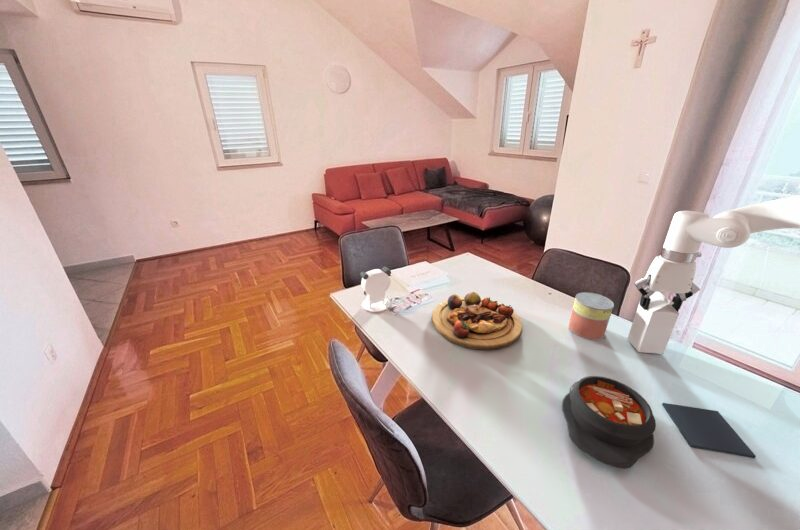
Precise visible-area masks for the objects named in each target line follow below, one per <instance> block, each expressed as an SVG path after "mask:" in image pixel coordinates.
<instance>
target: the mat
mask: <svg viewBox="0 0 800 530" xmlns="http://www.w3.org/2000/svg"><path fill="white" fill-rule="evenodd" d="M662 407H663V408H664V410H665V411H666V412H667V414H668V416H669V417H670V419H671V420H672V422H673V423H674V424H675V426H676V428H677V429H678V428H679V429H678V431H679V432H680V433H681V435H682V436H683V438H684V439H685V441H686V443H687V444H688V446H689V447H690V448H695V449H701V450H706V451H712V452H718V453H724V454H730V455H734V456H740V457H741V456H742V457H746V458H752V459H755V458H757V455H756V454H755V453H754V452H753V451H752V450H751V448H750V447H749V446H748V445H747V444H746V443H745V441H744V440H743V439H742V438H741V436H740V435H739V434H738V433H737V432H736V430H735V429H734V428H733V427H732V426H731V425H730V424H729V423H728V421H727V420H726V419H725V418H724V417H723V415H722V414H721V413H720V412H719V411H718V410H714V409H707V408H701V407H693V406H688V405H680V404H674V403H667V402H662Z"/></svg>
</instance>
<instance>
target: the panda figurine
mask: <svg viewBox="0 0 800 530" xmlns="http://www.w3.org/2000/svg"><path fill="white" fill-rule="evenodd" d="M391 274H392V271H391V270H390V269H389V268H388V267H386V266H382V268H381V269H380V268H374V269H370V270H368V271H360V273H359V275H360V277H361V281H360V286H361V289H362V290H363V295H364V296H365V299H364V300H363V301H362V302H361V308H362V309H363V310H364V311H366V312H369V313H380V312H384V311H386V310H387V309H388V308H386V305H385V304H386V302H387V301H389V302H390V300H389V298H388V299H387V298H386V292H387V291H388V289H389V288H390V287H391V282H392V281H391V278H390V275H391Z"/></svg>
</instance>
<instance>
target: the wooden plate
mask: <svg viewBox="0 0 800 530" xmlns="http://www.w3.org/2000/svg"><path fill="white" fill-rule="evenodd" d="M431 323H432V326H433V327H434V330H436V332H437V333H438V334H439V335H440V336H442V337H443V338H445V339H446V340H448V341H449V342H451V343H453V344H456V345H458V346H461V347H465V348H469V349H475V350H497V349H502V348H505V347H508V346H510V345H512V344H513V343H516V342H517V340H518V339H520V337H521V335H522V333H523V322H522V319H521V318H520V316H519V315H518V314H517V313H516V312H515V311H514V308H513V306H512V305H511V304H509V305H505V304H504V303H501V302H499V301H498V300H493V299H491V297H490V296H489V297H481V296H480V295H479V294H478V293H477V292H475V291H472V292H468V293H467V294H466V295H464V296H460V295H459V294H456V293H453V294H451V295H450V296H449V297H448V298H447V299H446V300H443V301H442V302H440V303H438V305H436V306H435V308H434V309H433V311H432V313H431Z"/></svg>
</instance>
